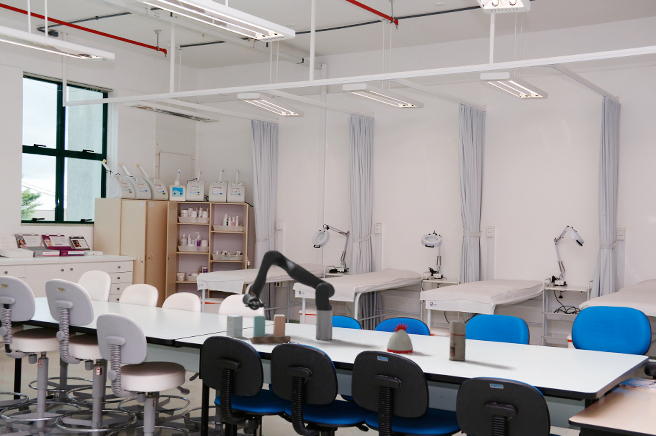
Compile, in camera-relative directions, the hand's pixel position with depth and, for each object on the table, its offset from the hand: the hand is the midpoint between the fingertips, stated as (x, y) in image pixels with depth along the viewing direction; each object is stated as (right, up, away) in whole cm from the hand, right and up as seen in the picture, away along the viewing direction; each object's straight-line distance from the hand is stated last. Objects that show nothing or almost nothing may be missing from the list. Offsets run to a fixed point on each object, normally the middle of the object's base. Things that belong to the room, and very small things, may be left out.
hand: (257, 306), depth 382 cm
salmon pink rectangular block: (+13, -18, -8) cm, 24 cm away
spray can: (+107, -21, -50) cm, 120 cm away
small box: (-14, -19, +4) cm, 24 cm away
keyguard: (+8, -19, -12) cm, 24 cm away
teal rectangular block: (+2, -18, -10) cm, 21 cm away
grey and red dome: (+80, -21, -29) cm, 88 cm away
